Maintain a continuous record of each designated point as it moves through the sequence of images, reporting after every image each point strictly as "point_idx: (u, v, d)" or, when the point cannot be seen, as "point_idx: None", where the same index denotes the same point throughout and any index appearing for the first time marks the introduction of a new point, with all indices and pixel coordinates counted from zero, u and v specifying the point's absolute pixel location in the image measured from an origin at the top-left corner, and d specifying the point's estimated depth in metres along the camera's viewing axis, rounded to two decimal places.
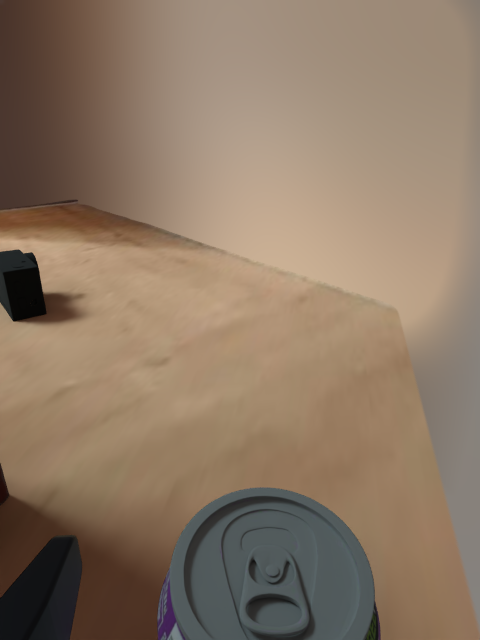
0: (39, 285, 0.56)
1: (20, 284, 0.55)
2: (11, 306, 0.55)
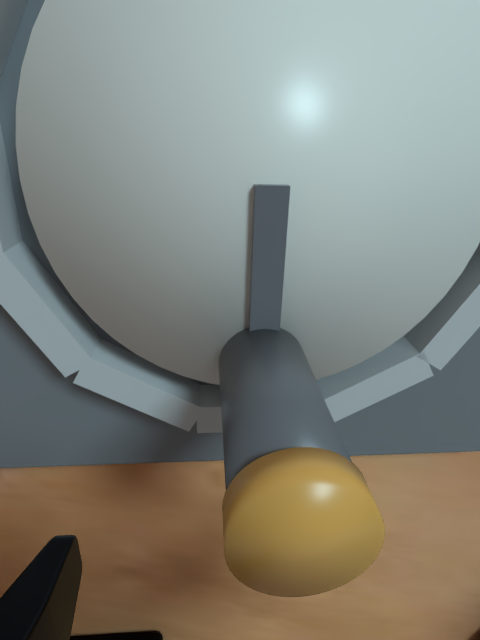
0: None
1: None
2: None
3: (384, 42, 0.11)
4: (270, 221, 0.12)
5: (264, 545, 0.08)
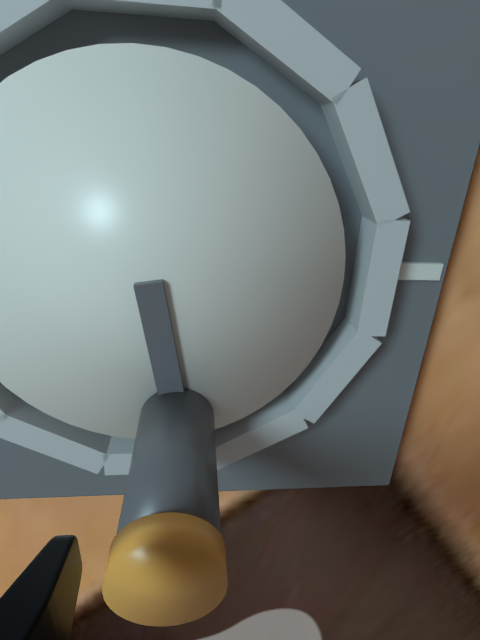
0: None
1: None
2: None
3: (213, 163, 0.13)
4: (153, 310, 0.15)
5: (133, 592, 0.11)
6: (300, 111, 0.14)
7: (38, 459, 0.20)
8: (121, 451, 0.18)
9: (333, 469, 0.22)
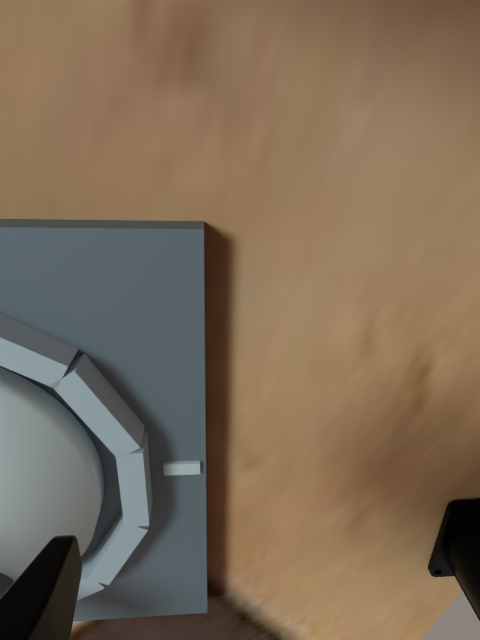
0: None
1: None
2: None
3: None
4: None
5: None
6: None
7: None
8: None
9: (153, 603, 0.25)
